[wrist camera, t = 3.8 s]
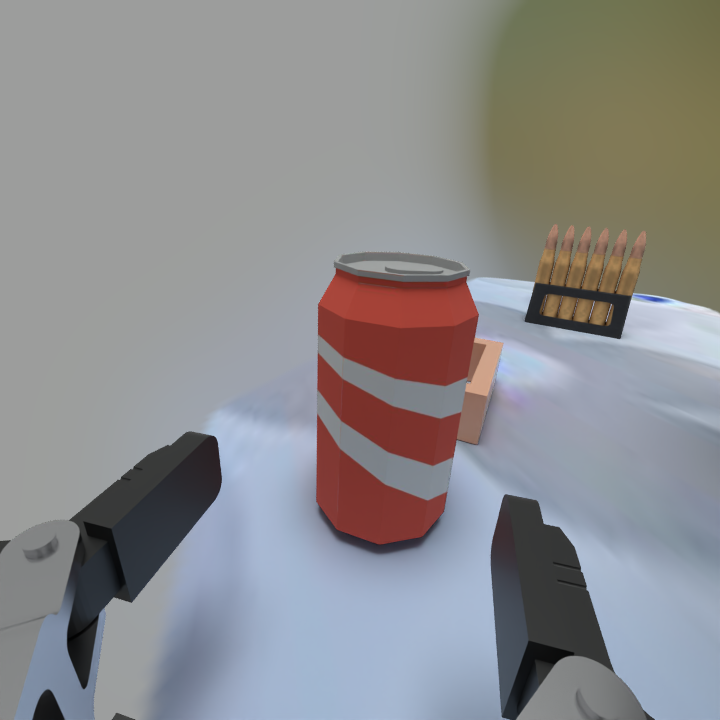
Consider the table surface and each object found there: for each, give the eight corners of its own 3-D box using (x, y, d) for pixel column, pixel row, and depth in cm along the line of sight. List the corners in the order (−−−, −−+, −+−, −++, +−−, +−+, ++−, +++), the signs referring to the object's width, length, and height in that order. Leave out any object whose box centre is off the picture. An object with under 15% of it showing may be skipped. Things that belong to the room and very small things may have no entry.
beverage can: (465, 539, 18) (520, 278, 13) (327, 565, 16) (335, 279, 12) (415, 458, 23) (442, 251, 19) (307, 472, 22) (307, 249, 17)
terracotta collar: (382, 356, 37) (385, 321, 36) (495, 380, 34) (503, 342, 32) (331, 405, 29) (332, 360, 27) (477, 444, 25) (487, 396, 24)
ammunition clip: (524, 321, 51) (546, 223, 46) (526, 318, 52) (547, 222, 47) (620, 339, 46) (655, 232, 41) (619, 334, 48) (653, 231, 43)
